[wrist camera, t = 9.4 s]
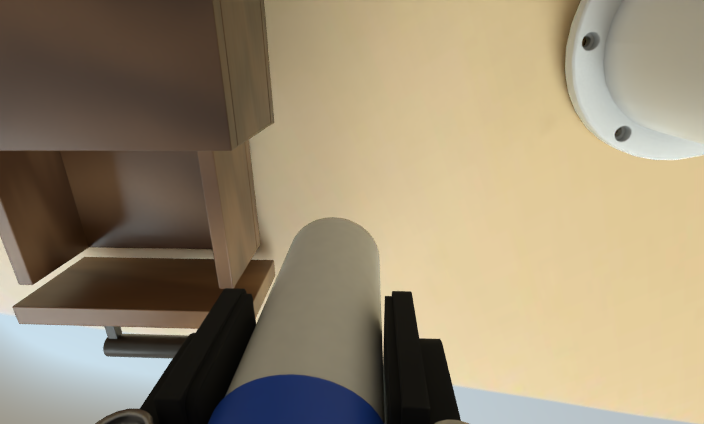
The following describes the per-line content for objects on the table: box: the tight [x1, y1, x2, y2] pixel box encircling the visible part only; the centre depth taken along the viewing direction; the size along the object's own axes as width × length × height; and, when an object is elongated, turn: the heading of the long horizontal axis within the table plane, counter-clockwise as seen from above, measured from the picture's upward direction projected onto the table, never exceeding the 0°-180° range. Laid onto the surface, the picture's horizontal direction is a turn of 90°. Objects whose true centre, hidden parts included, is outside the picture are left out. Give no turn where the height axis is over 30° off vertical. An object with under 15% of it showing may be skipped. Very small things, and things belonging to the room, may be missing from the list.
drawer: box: [0, 139, 275, 358], centre depth 22 cm, size 18×13×6 cm
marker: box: [208, 217, 385, 424], centre depth 11 cm, size 4×4×10 cm
